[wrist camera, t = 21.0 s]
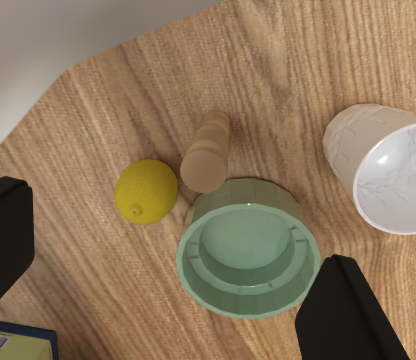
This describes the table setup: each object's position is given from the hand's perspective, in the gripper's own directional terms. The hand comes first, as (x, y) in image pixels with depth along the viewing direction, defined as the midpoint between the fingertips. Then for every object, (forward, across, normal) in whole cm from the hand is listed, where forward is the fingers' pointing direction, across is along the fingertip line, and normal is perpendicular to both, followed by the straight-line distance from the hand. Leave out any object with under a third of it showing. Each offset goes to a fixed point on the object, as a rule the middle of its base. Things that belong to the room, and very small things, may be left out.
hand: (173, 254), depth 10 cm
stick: (+21, 0, +1) cm, 21 cm away
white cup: (+21, -14, -1) cm, 25 cm away
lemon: (+21, +4, +8) cm, 23 cm away
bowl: (+20, -6, +12) cm, 24 cm away
